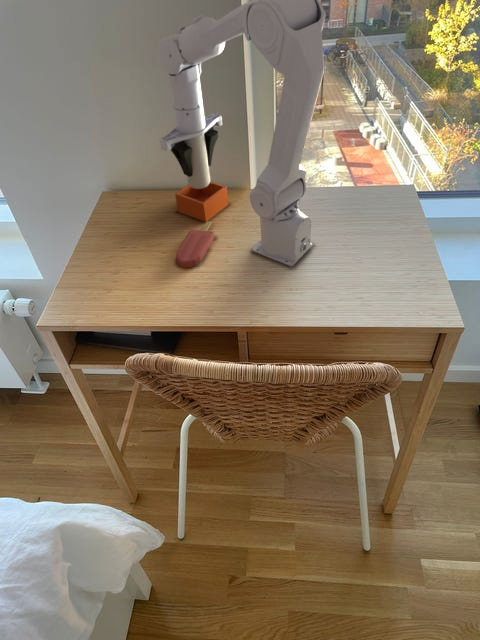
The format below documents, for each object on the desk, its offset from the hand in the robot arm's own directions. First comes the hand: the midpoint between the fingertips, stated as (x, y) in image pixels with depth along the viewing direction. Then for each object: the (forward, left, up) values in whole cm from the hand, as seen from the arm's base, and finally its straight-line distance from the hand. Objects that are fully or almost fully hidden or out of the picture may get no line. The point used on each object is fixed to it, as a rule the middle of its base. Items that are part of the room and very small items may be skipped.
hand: (197, 169), depth 103 cm
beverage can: (0, 0, -4) cm, 4 cm away
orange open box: (+1, -1, -10) cm, 11 cm away
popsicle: (-7, +10, -10) cm, 16 cm away
